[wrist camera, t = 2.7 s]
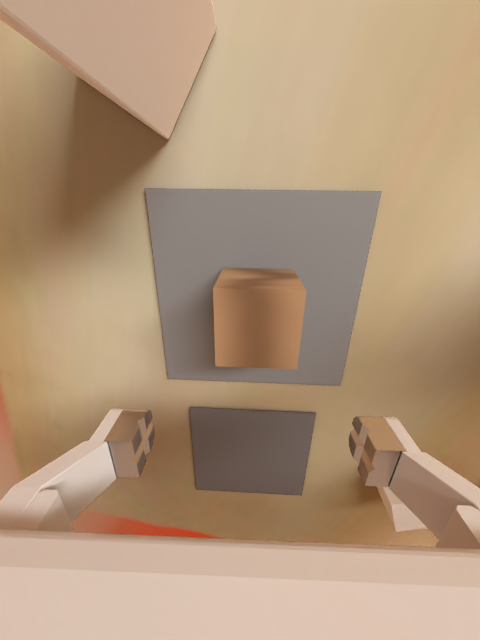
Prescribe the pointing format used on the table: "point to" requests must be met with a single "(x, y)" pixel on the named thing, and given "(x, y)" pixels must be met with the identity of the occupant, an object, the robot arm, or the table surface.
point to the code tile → (259, 252)
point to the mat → (251, 449)
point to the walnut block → (258, 318)
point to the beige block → (399, 512)
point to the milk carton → (124, 48)
